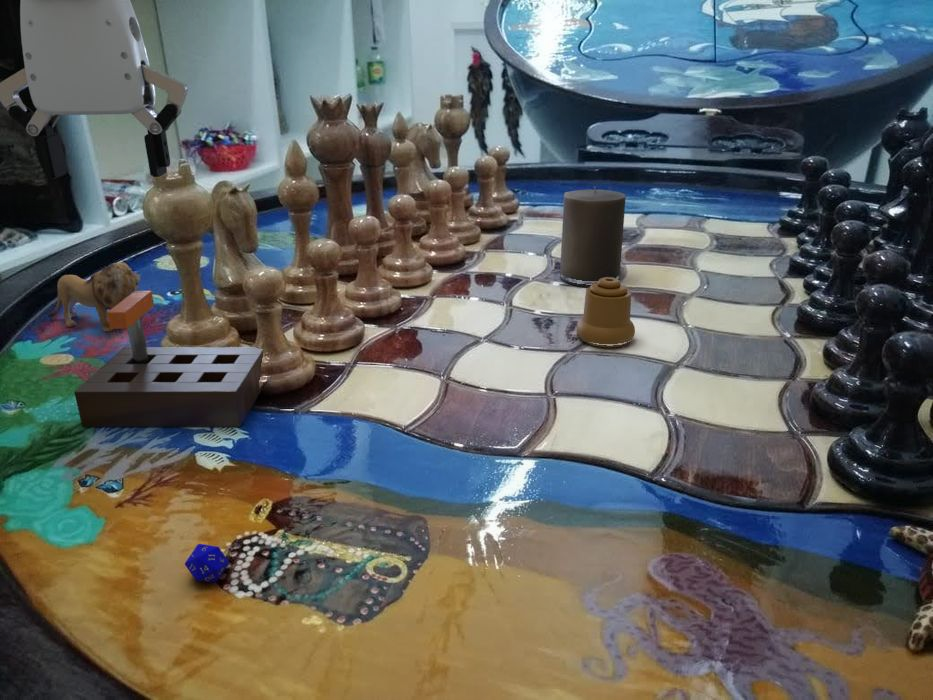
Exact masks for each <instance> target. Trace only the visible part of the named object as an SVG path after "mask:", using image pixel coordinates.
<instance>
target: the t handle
mask: <svg viewBox="0 0 933 700" xmlns="http://www.w3.org/2000/svg"><path fill="white" fill-rule="evenodd" d="M154 307H155V302H154V296H153V291H152V290H136V291H134V292H133V293H132V294H130V295H129V296H128V297H126V298H125V299H124V300H122V301H121V302H120V303H119V304H117V305H116V306H115V307H113V308H112V309H111V310H109V309H108V310H107V316H108V322H109V326H110V329H113V330H115V329H116V330H127V333H128V338H129V345H130V347H131V349H132V354H133V359H134V364H148V363H149V358H148V352H147V347H148V346H147V342H146V336H145V332H144V325H143V321H142V320H143V319H142V317H143V316H145V314H147V313H148V312H149V311H150V310H152V309H153V308H154Z"/></svg>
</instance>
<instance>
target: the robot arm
mask: <svg viewBox="0 0 933 700" xmlns="http://www.w3.org/2000/svg"><path fill="white" fill-rule="evenodd" d="M19 5H20V6H19V17H20V18H19V19H20V21H19V22H20V37H21V48H22V57H23V64H24V68H22V69H20V70H19V71H17V72H15V73H13V74H12V75H10V76H9V77H7V78H5V79H4V80H2V81H1V82H0V103H1V104H2V106H3V107H4V109H6V110H7V111H8V115H9V116H10V118H12V119H13V120H14V121H15V122H16V123H18V124H19V125H20V126H22V127H23V128H24V129H25V130H26V133H27V134H28V135H30V136H31V137H34V142H35V143H34V144H35V147H36V151H37V155H38V156H37V157H38V161H39V164H40V167H41V169H43V170H45V174H46V178H47V179H48V180H55V179H57V178H60V177H62V176H65V175H66V174H68V167H67V166H68V165H67V161H66V158H65V152H64V149H63V144H62V139H61V135H60V134H59V133H58V132H55V131H54V127H55V126H56V125H57V123H58V121H59V119H60V118H61V116H71V115H72V116H88V115H89V116H90V115H91V116H95V115H97V116H98V115H128V114H131V115H132V116H133V117H134V118H135V119H136V120H137V121H138V122H139V123H140V124H142V125H143V127H145V129H146V130H147V134H145V135H144V140H143V141H144V145H145V151H146V157H147V162H148V169H149V175H150V176H151V177H153V178H160V177H162V176H163V175H164V174H167V172H168V169H167V168H168V167H170V165H171V157H170V156H171V155H170V151H169V144H168V138H167V131H169V129H170V127H171V126H172V124H174V122H175V121H176V119H177V118H178V117H179V116H180V114H181V113H182V108H183V106H184V105H185V104H184V103H185V100H186V97H187V96H188V92H189V87H188V85H187V84H186V83H184V82H182V81H181V80H178V79H176V78H174V77H172V76H170V75H168V74H166V73H164V72H162V71H160V70H158V69H156V68H154V67H152V66H150V62H149V58H148V54H147V49H146V46H145V42H144V38H143V35H142V31H141V27H140V24H139V21H138V19H137V15H136V12H135V10H134V7H133V4H132V1H131V0H20V4H19ZM27 87H28V90H29V94H30V98H31V101H32V104H33V105H34V108H35V109H36V110H35V112H34V111H33V110H32V109H30V108H29V107H28V106H27V105H25V104H24V103H23V101H22V99H21V97H20V92H21V91H23V90H24V89H26V88H27ZM155 87H158V88H159V89H160V90H163V91H164V92H166V93H167V101H166V103H165V105H164V106H163V108H162V109H161V110H160V111H158V110H157V109H156V108H155V107H154V105H155V104H156V89H155Z"/></svg>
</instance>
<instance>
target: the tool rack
mask: <svg viewBox="0 0 933 700" xmlns="http://www.w3.org/2000/svg"><path fill="white" fill-rule="evenodd" d="M146 347H147V352H148V358H149V363H148V364H134V359H133V354H132V349H131V346H130V347H129V346H127V347H125V346H124V347H122V348H121V349H120V350H119V351H117V352H116V354H114V355H113V356H112V357H111V358H110V359H108V361H106V362H105V364H103V365H102V366H101V367H100V368H99V369H97V371H95V372H94V373H93V374H92V375H91V376H90V377H89V378H88V379H87V380H86V381H84V382H83V383H82V384H81V385H80V386H78V388H76V389H75V390H74V397H75V402H76V405H77V410H78V414H79V418H80V424H81V427H82V428H241V426H242V425H243V424H244V422H245V420H246V418H247V416H248V415H249V413H250V411H251V409H252V407H253V406H254V405H255V403H256V402H257V399H258V397H259V395H260V394H261V392H262V391H263V390H264V387H265V386H266V383H263V385H262V386H261V388H260V390H259V380H260V377H261V363H262V358H263V349H258V348H256V347H257V346H247V347H246V346H240V347H239V346H233V347H232V346H229V347H228V346H225V347H222V346H215V347H214V346H209V347H208V346H207V347H206V346H203V347H201V346H190V347H189V346H184V347H183V346H182V347H181V346H179V347H177V346H172V347H171V346H169V347H168V346H166V347H164V346H162V347H160V346H157V347H155V346H152V347H151V346H149V347H148V346H146Z"/></svg>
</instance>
